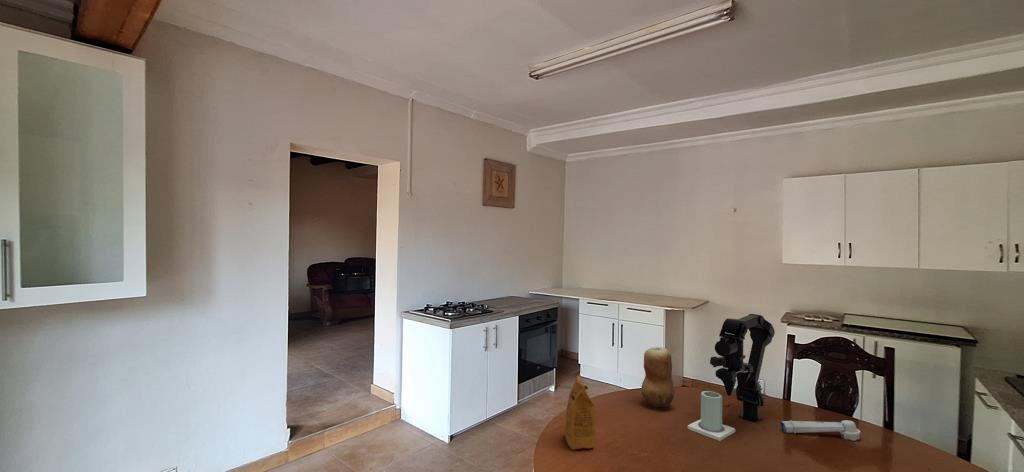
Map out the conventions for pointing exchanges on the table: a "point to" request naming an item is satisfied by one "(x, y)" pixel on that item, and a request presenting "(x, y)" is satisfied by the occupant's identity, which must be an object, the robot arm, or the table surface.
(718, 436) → the post board
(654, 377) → the butternut squash
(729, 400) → the table surface
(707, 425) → the sleeve
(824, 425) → the toothbrush head
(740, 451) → the table surface
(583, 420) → the coffee package
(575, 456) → the table surface
